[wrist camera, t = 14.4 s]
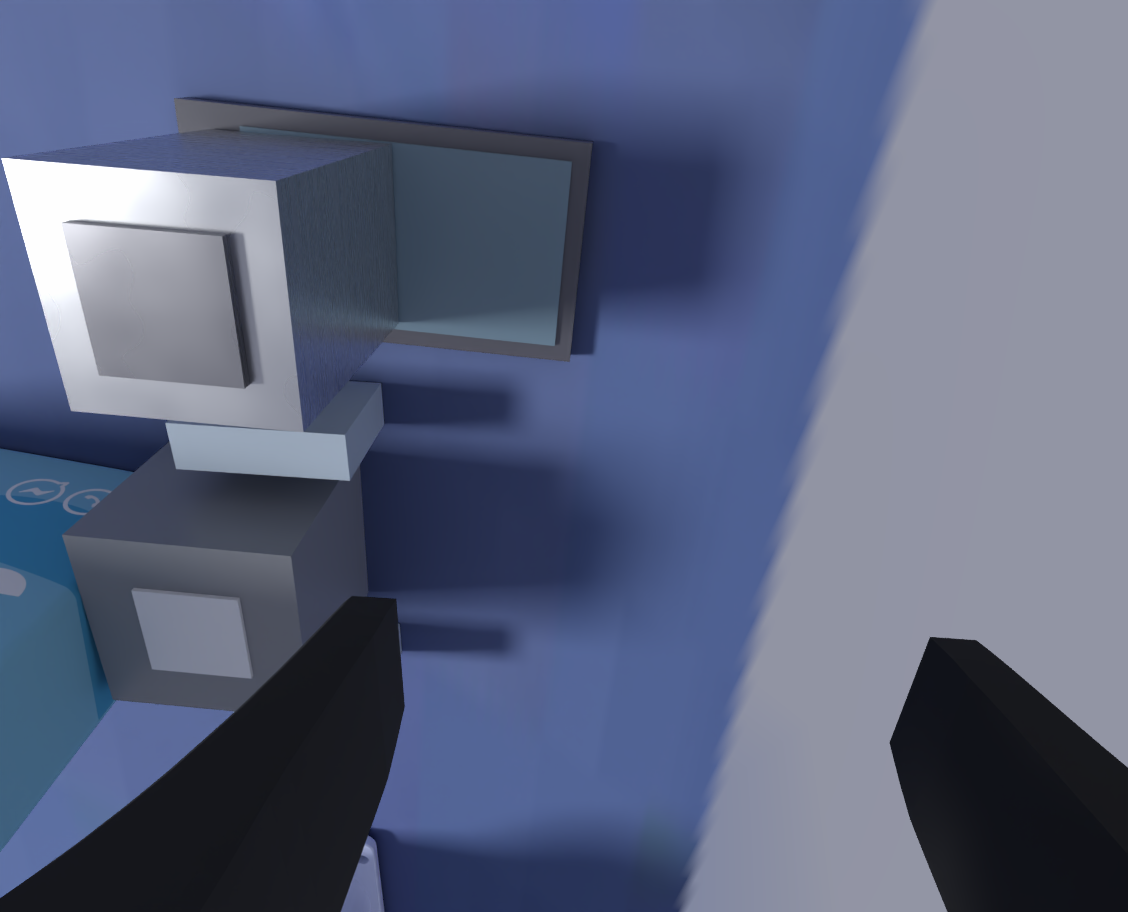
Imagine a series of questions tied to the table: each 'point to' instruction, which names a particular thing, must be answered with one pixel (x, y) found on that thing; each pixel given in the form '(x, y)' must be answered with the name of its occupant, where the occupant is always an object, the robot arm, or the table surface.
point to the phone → (461, 224)
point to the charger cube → (213, 577)
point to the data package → (44, 628)
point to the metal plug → (211, 271)
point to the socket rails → (288, 442)
